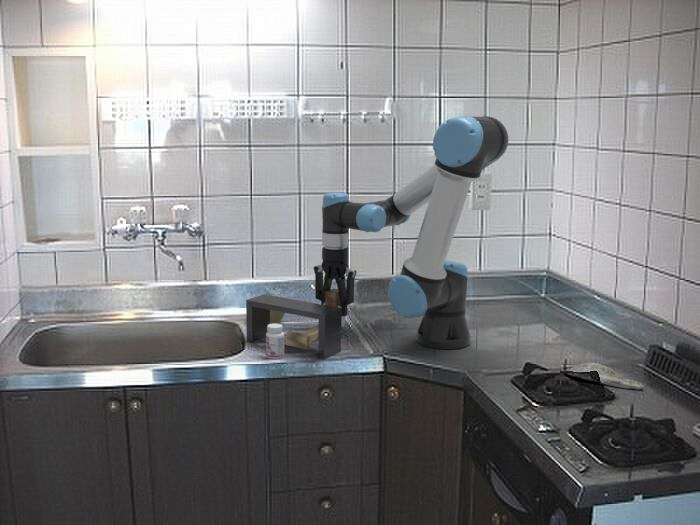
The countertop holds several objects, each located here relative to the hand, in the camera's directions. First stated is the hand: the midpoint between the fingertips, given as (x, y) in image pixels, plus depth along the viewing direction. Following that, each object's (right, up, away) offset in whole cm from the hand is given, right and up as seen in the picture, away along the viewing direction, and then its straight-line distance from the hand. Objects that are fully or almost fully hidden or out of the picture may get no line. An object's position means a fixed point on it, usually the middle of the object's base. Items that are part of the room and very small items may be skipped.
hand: (334, 324), depth 222 cm
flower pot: (-19, 0, +7) cm, 20 cm away
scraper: (-4, -3, -7) cm, 9 cm away
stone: (+67, -11, -36) cm, 77 cm away
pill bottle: (-15, -6, -23) cm, 28 cm away
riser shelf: (-11, -5, -15) cm, 19 cm away
